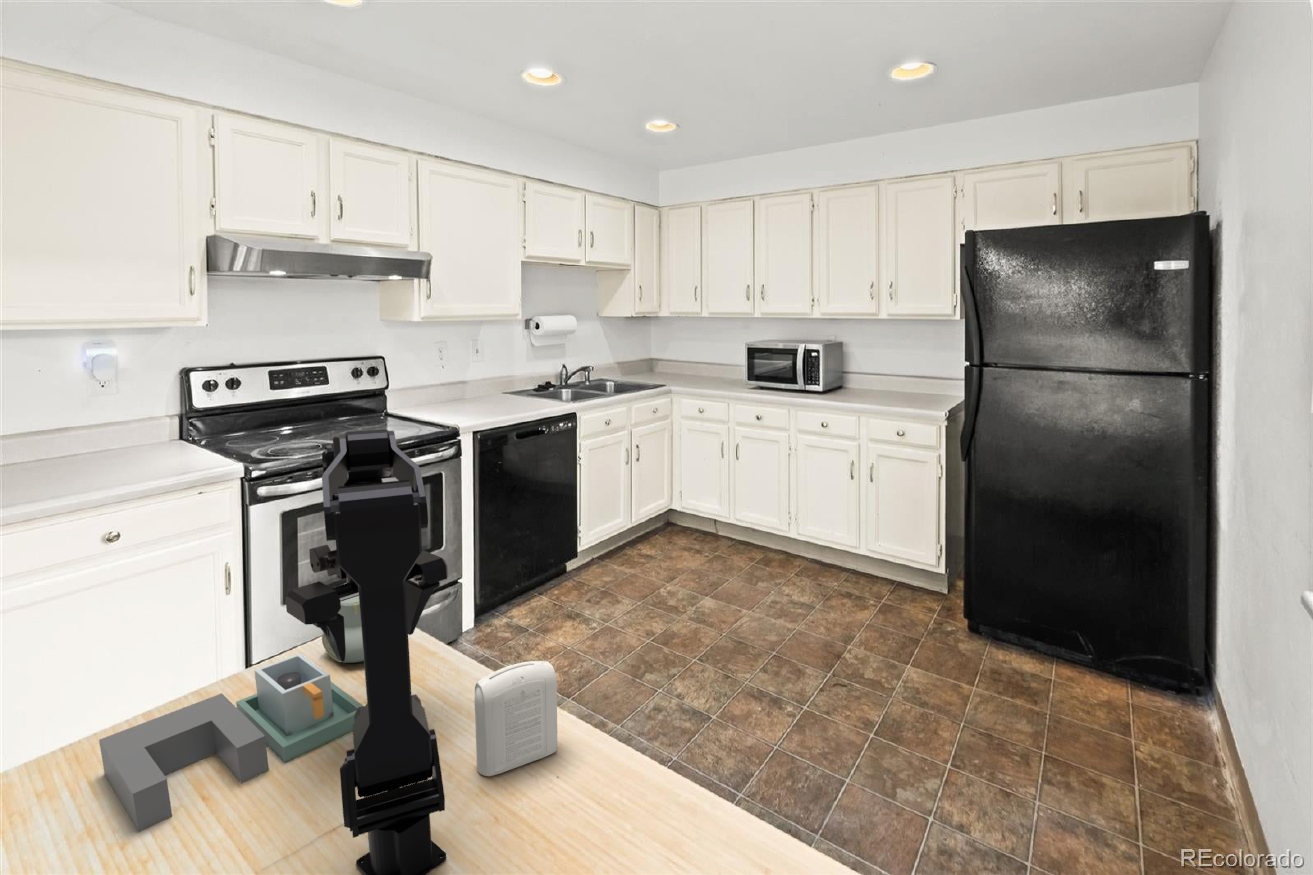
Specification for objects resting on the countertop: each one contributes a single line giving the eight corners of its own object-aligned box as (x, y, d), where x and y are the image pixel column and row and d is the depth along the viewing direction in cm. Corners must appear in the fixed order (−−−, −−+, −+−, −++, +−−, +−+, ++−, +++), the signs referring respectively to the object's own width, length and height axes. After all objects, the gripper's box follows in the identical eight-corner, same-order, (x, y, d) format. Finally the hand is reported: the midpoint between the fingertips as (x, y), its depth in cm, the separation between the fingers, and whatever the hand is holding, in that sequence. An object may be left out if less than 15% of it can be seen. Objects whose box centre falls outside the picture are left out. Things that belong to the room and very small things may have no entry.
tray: (368, 725, 90) (367, 708, 90) (285, 766, 82) (283, 747, 82) (317, 685, 100) (316, 670, 99) (238, 718, 92) (236, 701, 91)
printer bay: (269, 773, 81) (265, 735, 80) (139, 835, 71) (132, 793, 70) (226, 727, 90) (221, 693, 89) (105, 777, 80) (98, 739, 79)
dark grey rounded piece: (304, 705, 93) (303, 678, 92) (282, 712, 91) (280, 685, 90) (298, 696, 95) (297, 670, 94) (276, 703, 93) (275, 676, 92)
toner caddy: (344, 724, 90) (341, 683, 89) (297, 746, 85) (293, 703, 84) (304, 691, 97) (300, 653, 96) (259, 710, 93) (254, 670, 92)
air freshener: (317, 653, 109) (312, 595, 107) (365, 634, 116) (361, 579, 114) (353, 675, 103) (347, 614, 101) (402, 654, 109) (398, 596, 107)
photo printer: (548, 735, 89) (546, 648, 86) (563, 752, 85) (561, 662, 83) (472, 763, 83) (467, 671, 81) (484, 783, 80) (479, 687, 77)
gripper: (402, 503, 96) (409, 605, 99) (260, 535, 82) (273, 654, 85) (447, 518, 89) (453, 628, 92) (301, 557, 75) (313, 685, 78)
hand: (376, 646), depth 87 cm, fingers open, 9 cm apart
